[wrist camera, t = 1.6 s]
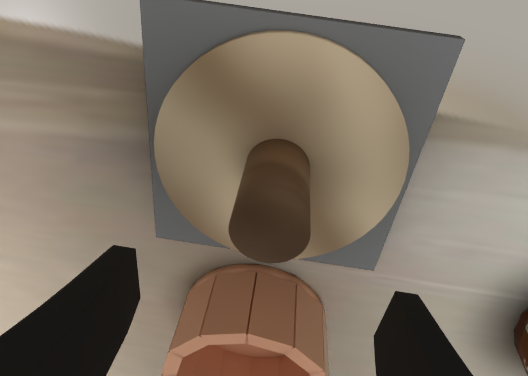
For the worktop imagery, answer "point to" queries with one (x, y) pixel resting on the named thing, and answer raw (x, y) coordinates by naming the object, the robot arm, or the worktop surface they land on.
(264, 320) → the terracotta bowl
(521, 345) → the food container
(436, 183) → the worktop surface
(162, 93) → the charcoal mat
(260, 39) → the oak lid
